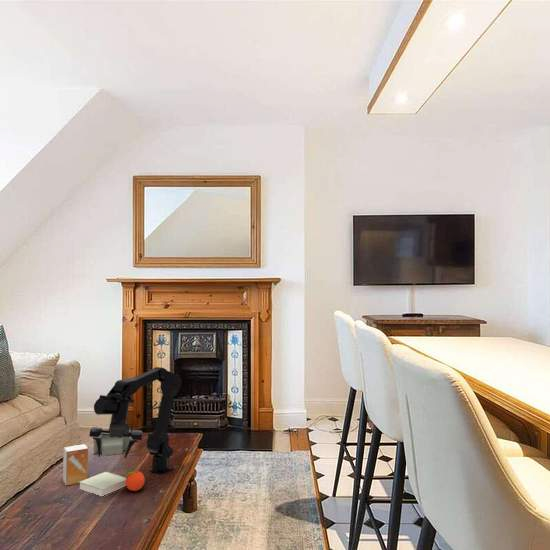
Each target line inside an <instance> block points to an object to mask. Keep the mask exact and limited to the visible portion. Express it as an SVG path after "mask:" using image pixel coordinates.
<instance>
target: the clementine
mask: <svg viewBox="0 0 550 550" xmlns="http://www.w3.org/2000/svg"><path fill="white" fill-rule="evenodd" d="M123 477H126V481H125V482H126V486H127V487H126V488H127V489H128V491H129V490H130V491H131V492H132V491H134V492H137V491H139V490H141V489H142V487H143V486H144V485H145V475H144V474H143V473H142V472H141V471H139V470H134V471H129V472H127V473H126V474H125V475H124V476H123ZM123 479H124V478H123Z"/></svg>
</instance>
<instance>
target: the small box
mask: <svg viewBox="0 0 550 550" xmlns="http://www.w3.org/2000/svg"><path fill="white" fill-rule="evenodd" d="M62 458H63V464H62V465H63V466H62V481H63V483H64V485H65V486H66V485H67V486H70V485H75V484H80V481H83V480H86V479H88V474H89V447H88V446H87V445H86V443H83V444H77V445H71V446H65V447H63V457H62Z"/></svg>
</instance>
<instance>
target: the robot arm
mask: <svg viewBox="0 0 550 550" xmlns="http://www.w3.org/2000/svg"><path fill="white" fill-rule="evenodd" d="M155 381H158V382H159V383H160V387H159V389H160V392H161V394H162V395H161V400H160V405H159V409H158V412H157V418H156V423H155V428H154V430H153V431H152V433H148V434H147V439H146V448H147V450H148V452H149V456H152V461H151V462H152V463H151V464H152V465H151V467H152V468H150V469H149V471H150V472H152V473H156V474H163V473H167V472H169V471H170V470H172V469H173V467H171V466H170V457H171V456H173V453H174V449H173V448H172V447H171V446H170V445H169V442H170V437H169V435H168V427H169V422H170V418H171V415H172V408H173V404H174V399H175V396H176V395H177V394H178V392H179V391H180V388H181V385H182V378H181V376H180V375H179V374H176V373H173V372H171V371H169V370H168V369H166V368H164V367H159V366H155V367H153V368H152V369H149V370H147V371H145V372H143V373H140V374H139V375H137V376H135V377H131V378H130V377H129V378H123V379H119V380H116V381H115V383H114V385H113V386H112V388H111V389H110V390H109V392H108V393H107V394H106V395H103V394H100V395H99V398H98V399H97V400H96V401H95V403H94V405H93V410H94V413H95V414H96V415H98V416H99V415H101V416H102V415H107V416H108V415H110V421H109V423H110V424H109V426H108V429H107V430H106V429H103V427H100V426H92V427H91V428H90V431H89V435H88V436H89V437H92V440H94V439H95V440H96V443H97V447H98V453H97V455H98V458H100V457H101V454H102V453H101V440H102V436H101V435H108V436H110V437H118V438H122V437H130V439H129V443H128V446H127V450H125V453H124V454H125V455H124V459H125V460H126V459H127V457H128V455H129V452H130V450H131V448H132V447H133V445H134V444H135V443H138V442H139V441H142V439H143V431H142V430H139V429H138V430H137V429H132V430H131V424H130V423H127V420H128V414H129V407H130V404H131V403H135V400H134V399H133V398H132V396H133V395H134V394H136V393H137V392H138V390H139V389H140V388H142V387H144V386H147V385H148V384H151V383H153V382H155ZM129 429H130V430H131V432H129Z"/></svg>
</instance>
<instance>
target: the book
mask: <svg viewBox="0 0 550 550" xmlns="http://www.w3.org/2000/svg"><path fill="white" fill-rule="evenodd" d="M123 478H124V479H123ZM126 478H127V476H125V477H124V476H121V475H119V474H116V473H112V472H109V471H104V472H101V473H99V474H96V475H94V476H91V477H89V478H88V479H86V480H83V481H80V483H79V490H80V489H81V490H80V491H83V490H84V491H83V492H86V491H87V492H86V493H89V492H90V493H89V494H92V493H94V494H96V495H95V496H97V495H99V496H98V497H100V496H104V495H106V494H108V493H111V492H113V491H116V490H118V489H120V488H122V487H124V486H126V482H125V481H126ZM122 489H123V488H122ZM120 490H121V489H120ZM118 491H119V490H118ZM116 492H117V491H116ZM113 493H114V492H113ZM94 494H93V495H94ZM111 494H112V493H111ZM106 496H107V495H106ZM104 497H105V496H104Z"/></svg>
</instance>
